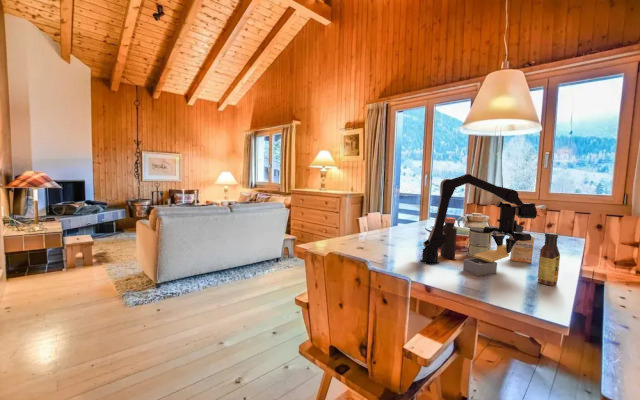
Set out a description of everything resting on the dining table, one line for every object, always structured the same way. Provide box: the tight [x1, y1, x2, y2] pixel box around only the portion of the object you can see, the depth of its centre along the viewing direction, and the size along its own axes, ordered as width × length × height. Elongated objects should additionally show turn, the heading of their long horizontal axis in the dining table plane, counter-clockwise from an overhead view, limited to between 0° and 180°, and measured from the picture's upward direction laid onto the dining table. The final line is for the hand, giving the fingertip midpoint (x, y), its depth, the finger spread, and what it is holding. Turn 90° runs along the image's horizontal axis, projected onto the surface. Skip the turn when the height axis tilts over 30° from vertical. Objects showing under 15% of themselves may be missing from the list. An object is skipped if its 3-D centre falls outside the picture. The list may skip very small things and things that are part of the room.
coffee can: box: [467, 226, 493, 258], centre depth 153 cm, size 10×10×14 cm
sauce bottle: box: [537, 232, 561, 287], centre depth 116 cm, size 7×6×20 cm
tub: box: [462, 257, 498, 278], centre depth 127 cm, size 10×8×5 cm
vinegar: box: [440, 216, 458, 260], centre depth 148 cm, size 7×7×20 cm
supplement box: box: [509, 234, 535, 264], centre depth 145 cm, size 8×5×13 cm, turn 68°
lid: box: [473, 243, 512, 262], centre depth 130 cm, size 16×8×3 cm, turn 111°
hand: (504, 252), depth 132 cm, fingers closed on lid, 3 cm apart
